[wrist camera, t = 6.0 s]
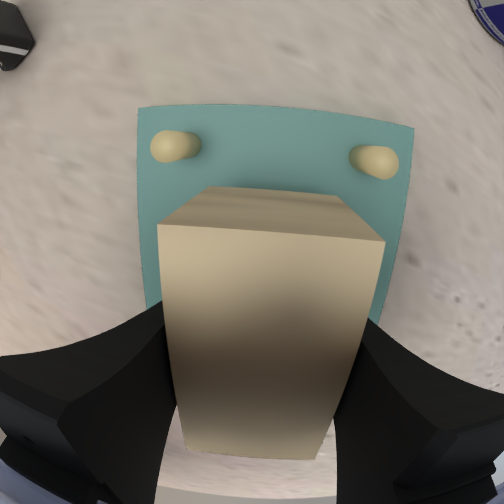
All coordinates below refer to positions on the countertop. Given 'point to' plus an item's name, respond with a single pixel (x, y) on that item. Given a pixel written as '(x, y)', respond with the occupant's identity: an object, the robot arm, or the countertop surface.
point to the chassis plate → (270, 167)
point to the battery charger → (12, 36)
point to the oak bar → (264, 315)
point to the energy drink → (491, 16)
